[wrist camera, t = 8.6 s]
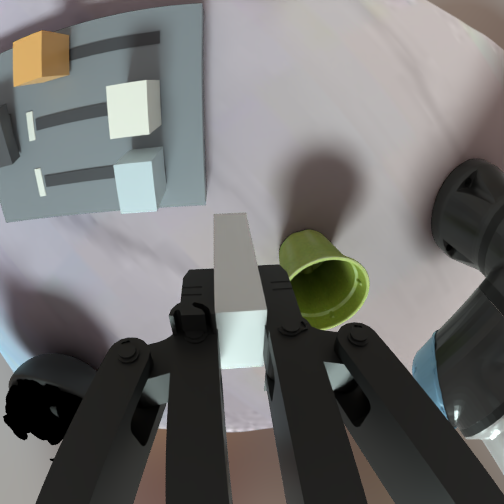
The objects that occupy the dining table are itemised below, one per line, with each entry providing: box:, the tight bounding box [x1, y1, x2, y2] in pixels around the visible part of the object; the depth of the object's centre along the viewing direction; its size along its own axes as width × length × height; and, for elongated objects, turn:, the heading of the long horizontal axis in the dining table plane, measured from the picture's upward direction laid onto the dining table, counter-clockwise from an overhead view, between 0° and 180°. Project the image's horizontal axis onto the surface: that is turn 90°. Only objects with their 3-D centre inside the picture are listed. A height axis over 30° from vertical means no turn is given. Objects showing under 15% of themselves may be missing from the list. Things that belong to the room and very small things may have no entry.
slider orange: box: [13, 30, 70, 87], centre depth 16 cm, size 3×4×5 cm
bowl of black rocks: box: [3, 354, 97, 461], centre depth 36 cm, size 20×20×19 cm
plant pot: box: [279, 230, 370, 330], centre depth 32 cm, size 9×9×9 cm
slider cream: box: [106, 80, 162, 139], centre depth 20 cm, size 3×4×5 cm
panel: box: [0, 3, 207, 223], centre depth 23 cm, size 24×19×4 cm
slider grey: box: [113, 147, 167, 214], centre depth 24 cm, size 3×4×5 cm
